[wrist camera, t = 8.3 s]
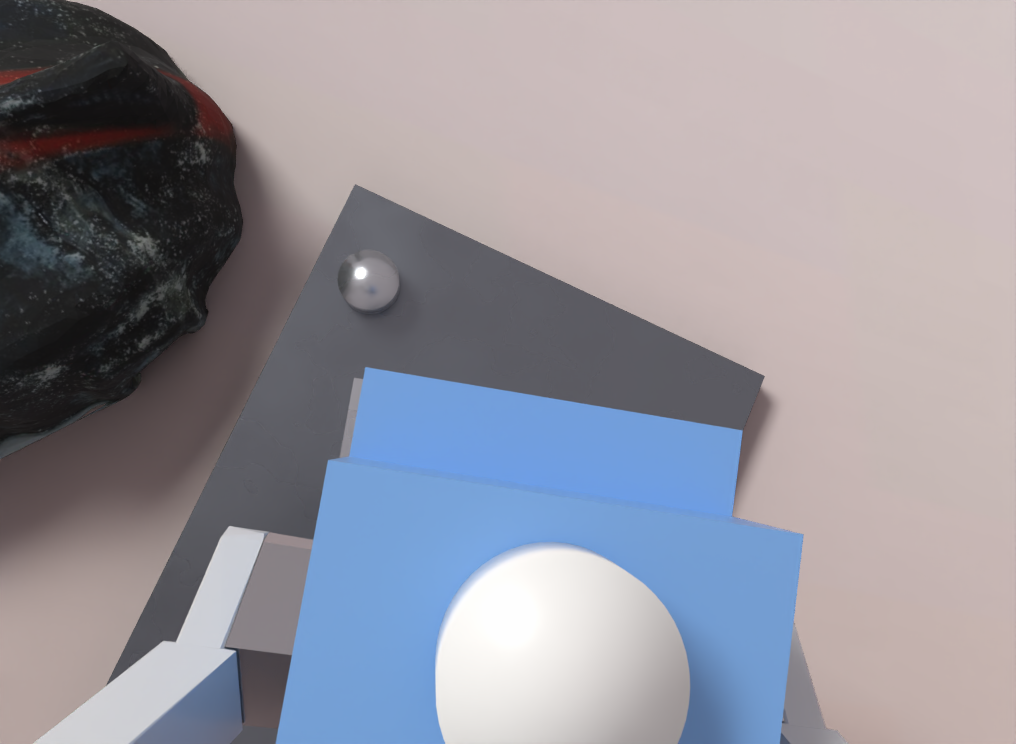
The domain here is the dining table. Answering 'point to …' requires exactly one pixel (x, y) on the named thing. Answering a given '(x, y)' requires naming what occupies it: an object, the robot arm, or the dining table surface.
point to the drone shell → (100, 211)
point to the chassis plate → (422, 352)
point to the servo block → (536, 579)
